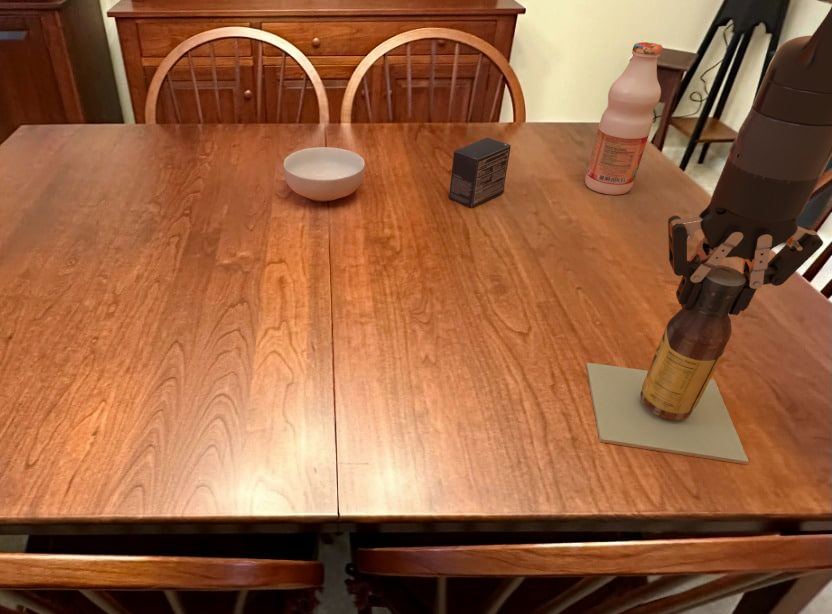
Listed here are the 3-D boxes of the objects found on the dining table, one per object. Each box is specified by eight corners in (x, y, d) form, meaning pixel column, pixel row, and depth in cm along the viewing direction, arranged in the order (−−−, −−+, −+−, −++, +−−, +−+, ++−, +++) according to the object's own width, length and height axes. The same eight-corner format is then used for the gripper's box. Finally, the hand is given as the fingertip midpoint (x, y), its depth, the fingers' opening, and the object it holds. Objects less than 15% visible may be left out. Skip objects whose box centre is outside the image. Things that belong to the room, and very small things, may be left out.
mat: (712, 382, 80) (714, 378, 80) (747, 464, 69) (749, 461, 69) (585, 365, 83) (586, 362, 83) (599, 442, 72) (600, 438, 72)
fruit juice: (574, 179, 131) (610, 40, 114) (613, 174, 132) (654, 37, 115) (600, 198, 123) (642, 53, 106) (641, 192, 125) (688, 49, 108)
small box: (479, 183, 130) (486, 135, 123) (504, 193, 126) (513, 144, 119) (446, 198, 124) (452, 149, 118) (471, 209, 120) (479, 158, 114)
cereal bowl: (359, 214, 119) (360, 181, 115) (277, 209, 121) (275, 176, 117) (367, 178, 132) (368, 147, 128) (293, 174, 135) (292, 143, 130)
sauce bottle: (663, 382, 79) (725, 252, 67) (703, 415, 74) (777, 281, 62) (624, 395, 77) (680, 263, 65) (662, 429, 72) (730, 295, 60)
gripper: (702, 171, 55) (644, 320, 65) (883, 183, 52) (793, 337, 62) (682, 140, 60) (632, 282, 71) (844, 150, 58) (767, 296, 68)
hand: (707, 307), depth 66 cm, fingers closed on sauce bottle, 4 cm apart
